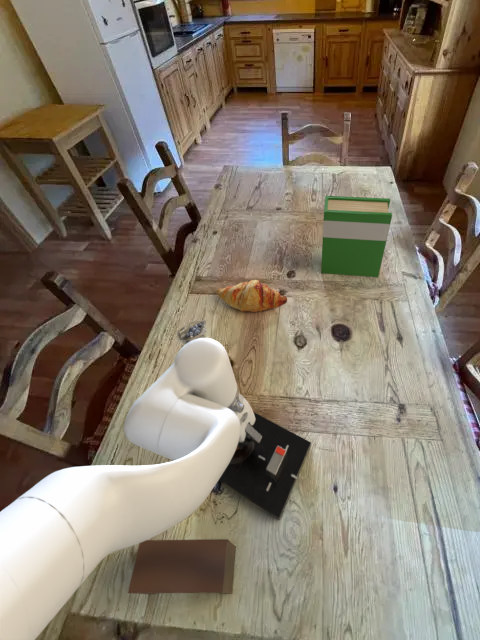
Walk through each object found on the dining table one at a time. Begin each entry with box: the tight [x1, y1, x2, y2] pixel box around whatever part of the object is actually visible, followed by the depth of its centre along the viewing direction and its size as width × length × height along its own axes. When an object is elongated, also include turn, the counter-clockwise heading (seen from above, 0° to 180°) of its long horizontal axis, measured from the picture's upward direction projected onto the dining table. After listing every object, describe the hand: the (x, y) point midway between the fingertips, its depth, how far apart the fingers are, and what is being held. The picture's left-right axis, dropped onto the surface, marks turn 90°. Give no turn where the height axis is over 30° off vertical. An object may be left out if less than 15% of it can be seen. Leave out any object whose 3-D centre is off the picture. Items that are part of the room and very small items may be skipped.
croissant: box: [216, 279, 288, 313], centre depth 98 cm, size 21×10×8 cm, turn 80°
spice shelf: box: [127, 538, 237, 595], centre depth 55 cm, size 6×14×10 cm, turn 90°
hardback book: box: [320, 195, 393, 278], centre depth 100 cm, size 18×7×24 cm, turn 83°
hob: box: [218, 411, 312, 521], centre depth 70 cm, size 14×18×3 cm
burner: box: [229, 441, 255, 464], centre depth 70 cm, size 8×8×1 cm
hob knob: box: [266, 446, 288, 481], centre depth 65 cm, size 4×2×5 cm, turn 153°
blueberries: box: [178, 319, 207, 343], centre depth 93 cm, size 7×8×2 cm
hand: (232, 434), depth 67 cm, fingers closed on spice bottle, 4 cm apart
